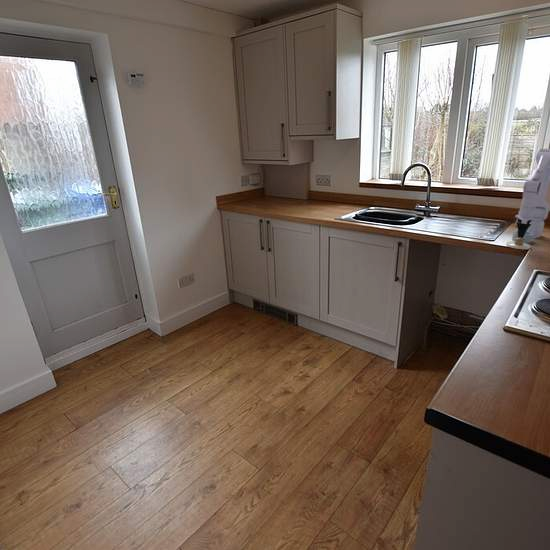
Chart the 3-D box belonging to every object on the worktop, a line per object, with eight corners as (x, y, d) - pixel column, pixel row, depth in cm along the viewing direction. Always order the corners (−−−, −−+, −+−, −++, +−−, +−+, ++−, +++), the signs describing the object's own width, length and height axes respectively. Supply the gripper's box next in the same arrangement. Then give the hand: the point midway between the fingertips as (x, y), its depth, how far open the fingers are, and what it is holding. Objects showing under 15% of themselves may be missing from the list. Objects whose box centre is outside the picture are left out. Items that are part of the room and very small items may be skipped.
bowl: (517, 238, 191) (519, 229, 190) (533, 242, 185) (536, 233, 183) (508, 240, 188) (510, 232, 186) (525, 244, 181) (527, 235, 180)
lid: (513, 242, 184) (514, 234, 183) (534, 247, 176) (536, 239, 175) (501, 245, 179) (503, 237, 178) (523, 250, 171) (525, 242, 170)
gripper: (518, 203, 178) (511, 231, 183) (516, 208, 167) (509, 237, 172) (536, 205, 175) (528, 233, 180) (535, 210, 164) (527, 240, 169)
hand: (520, 235), depth 176 cm, fingers open, 7 cm apart
